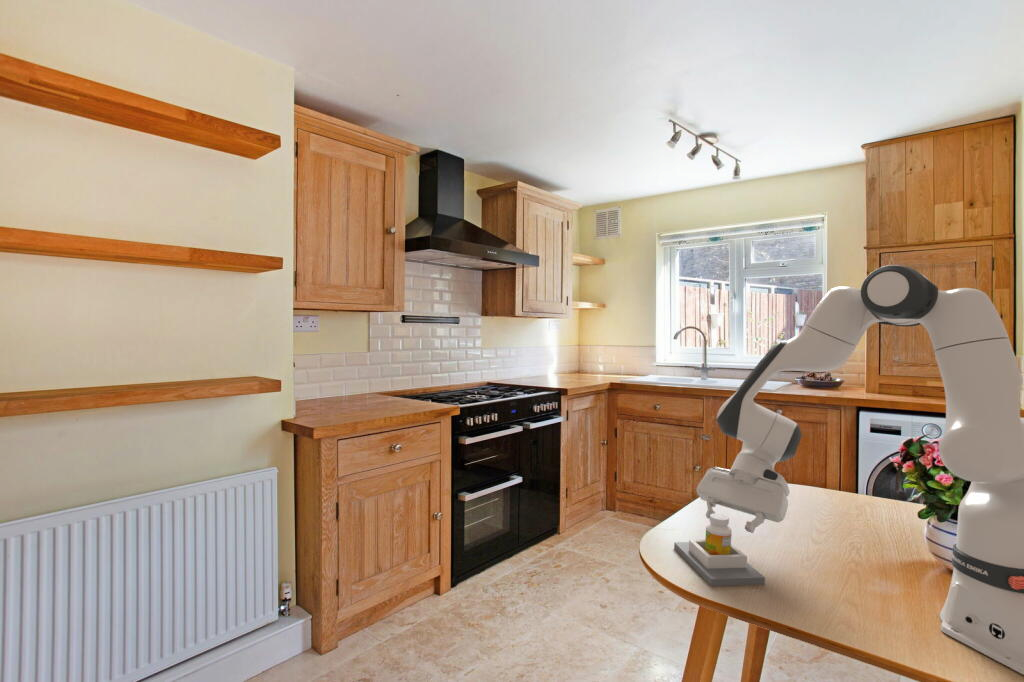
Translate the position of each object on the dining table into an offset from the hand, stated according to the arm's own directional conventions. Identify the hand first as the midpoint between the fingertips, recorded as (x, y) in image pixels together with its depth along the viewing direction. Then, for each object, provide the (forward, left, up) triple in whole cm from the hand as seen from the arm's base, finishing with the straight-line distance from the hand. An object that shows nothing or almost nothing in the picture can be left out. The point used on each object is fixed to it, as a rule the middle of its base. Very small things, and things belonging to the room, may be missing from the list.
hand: (728, 524), depth 123 cm
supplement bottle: (-3, +4, -7) cm, 8 cm away
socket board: (-3, +4, -8) cm, 10 cm away
